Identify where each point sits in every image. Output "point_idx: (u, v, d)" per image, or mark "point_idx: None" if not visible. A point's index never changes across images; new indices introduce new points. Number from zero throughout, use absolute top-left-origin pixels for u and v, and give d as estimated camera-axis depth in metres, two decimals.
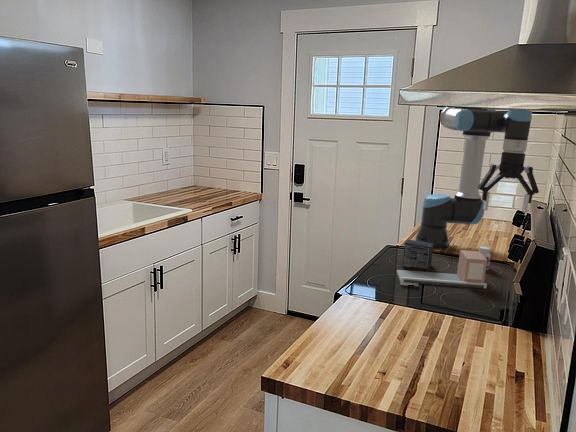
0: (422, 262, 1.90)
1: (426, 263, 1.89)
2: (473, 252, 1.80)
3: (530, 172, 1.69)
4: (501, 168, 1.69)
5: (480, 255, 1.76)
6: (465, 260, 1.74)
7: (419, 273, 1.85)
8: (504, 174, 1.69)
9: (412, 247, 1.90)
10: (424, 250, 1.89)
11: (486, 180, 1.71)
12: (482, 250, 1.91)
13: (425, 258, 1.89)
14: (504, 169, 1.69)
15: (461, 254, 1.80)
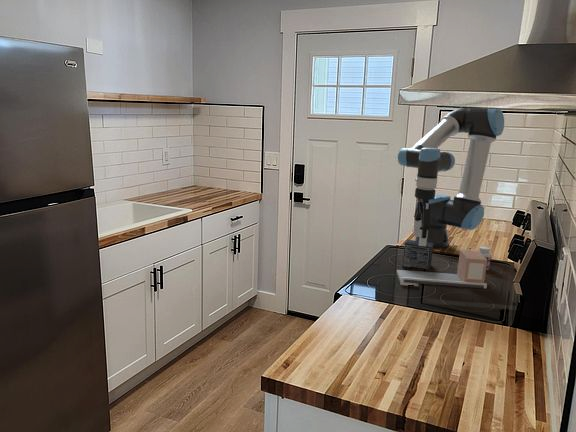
0: (422, 262, 1.90)
1: (426, 263, 1.89)
2: (473, 252, 1.80)
3: (423, 208, 1.82)
4: (419, 201, 1.92)
5: (480, 255, 1.76)
6: (465, 260, 1.74)
7: (419, 273, 1.85)
8: (417, 206, 1.91)
9: (412, 247, 1.90)
10: (424, 250, 1.89)
11: None
12: (482, 250, 1.91)
13: (425, 258, 1.89)
14: (419, 202, 1.91)
15: (461, 254, 1.80)
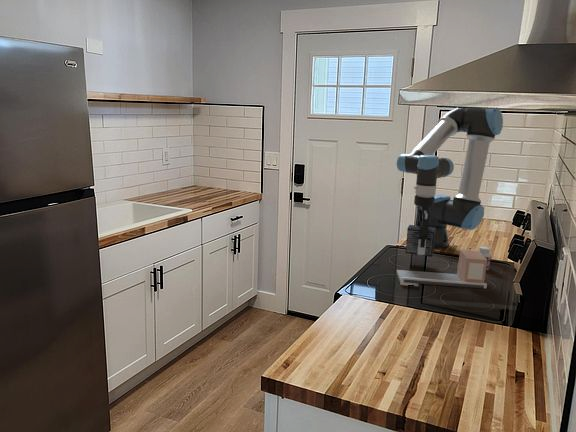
0: (425, 247, 1.89)
1: (430, 248, 1.88)
2: (473, 252, 1.80)
3: (422, 218, 1.84)
4: (419, 208, 1.92)
5: (480, 255, 1.76)
6: (465, 260, 1.74)
7: (419, 273, 1.85)
8: (417, 214, 1.91)
9: (415, 232, 1.89)
10: None
11: (416, 220, 1.97)
12: (482, 250, 1.91)
13: (428, 243, 1.88)
14: (419, 208, 1.91)
15: (461, 254, 1.80)
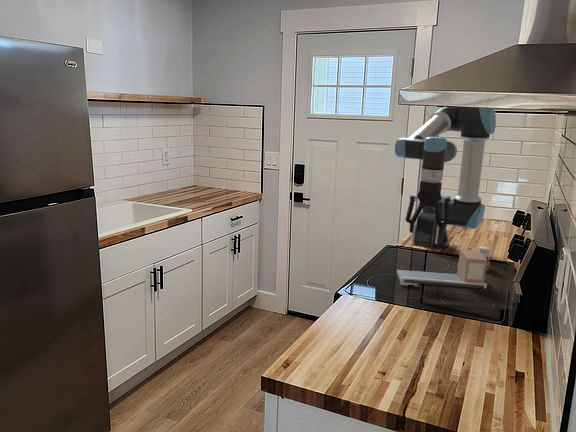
0: None
1: (434, 232, 1.80)
2: (473, 252, 1.80)
3: (445, 203, 1.73)
4: (419, 197, 1.74)
5: (480, 255, 1.76)
6: (465, 260, 1.74)
7: (419, 273, 1.85)
8: (423, 203, 1.73)
9: (435, 221, 1.74)
10: None
11: (409, 212, 1.75)
12: (482, 250, 1.91)
13: None
14: (422, 197, 1.73)
15: (461, 254, 1.80)
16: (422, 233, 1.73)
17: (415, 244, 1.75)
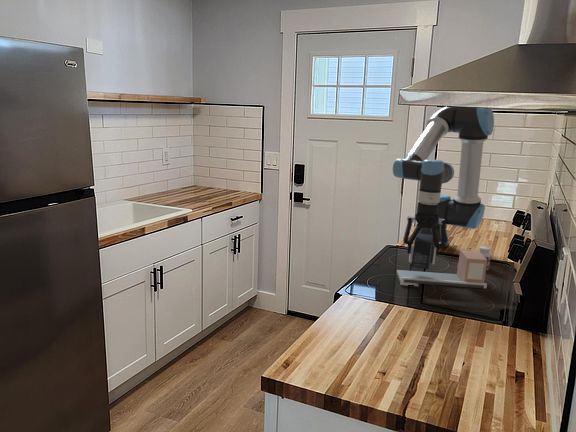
0: (431, 254, 1.81)
1: None
2: (473, 252, 1.80)
3: (442, 225, 1.75)
4: (417, 219, 1.76)
5: (480, 255, 1.76)
6: (465, 260, 1.74)
7: (419, 273, 1.85)
8: (421, 225, 1.75)
9: (432, 243, 1.76)
10: (433, 241, 1.80)
11: (407, 233, 1.77)
12: (482, 250, 1.91)
13: None
14: (420, 219, 1.75)
15: (461, 254, 1.80)
16: (420, 254, 1.75)
17: (413, 265, 1.76)
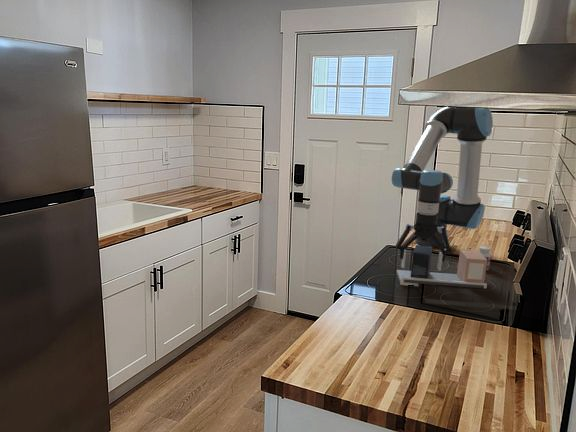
0: None
1: None
2: (473, 252, 1.80)
3: (443, 232, 1.76)
4: (415, 228, 1.76)
5: (480, 255, 1.76)
6: (465, 260, 1.74)
7: None
8: (418, 234, 1.76)
9: (430, 255, 1.77)
10: (431, 253, 1.81)
11: (402, 240, 1.78)
12: (482, 250, 1.91)
13: (430, 260, 1.83)
14: (418, 229, 1.76)
15: (461, 254, 1.80)
16: (418, 266, 1.76)
17: (412, 277, 1.78)
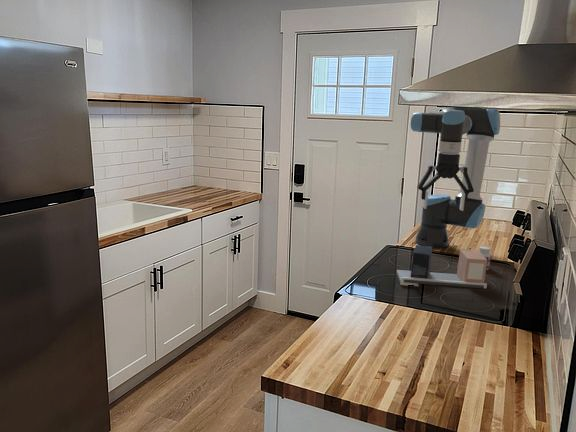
0: None
1: None
2: (473, 252, 1.80)
3: (465, 172, 1.78)
4: (437, 169, 1.79)
5: (480, 255, 1.76)
6: (465, 260, 1.74)
7: None
8: (440, 174, 1.78)
9: (430, 255, 1.77)
10: (431, 253, 1.81)
11: (424, 180, 1.80)
12: (482, 250, 1.91)
13: (430, 260, 1.83)
14: (440, 170, 1.79)
15: (461, 254, 1.80)
16: (418, 266, 1.76)
17: (412, 277, 1.78)
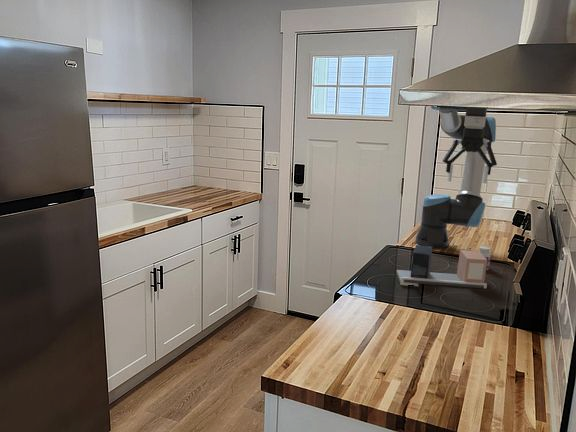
0: None
1: None
2: (473, 252, 1.80)
3: (489, 146, 1.86)
4: (463, 142, 1.87)
5: (480, 255, 1.76)
6: (465, 260, 1.74)
7: None
8: (465, 148, 1.87)
9: (430, 255, 1.77)
10: (431, 253, 1.81)
11: (449, 153, 1.88)
12: (482, 250, 1.91)
13: (430, 260, 1.83)
14: (465, 143, 1.87)
15: (461, 254, 1.80)
16: (418, 266, 1.76)
17: (412, 277, 1.78)
